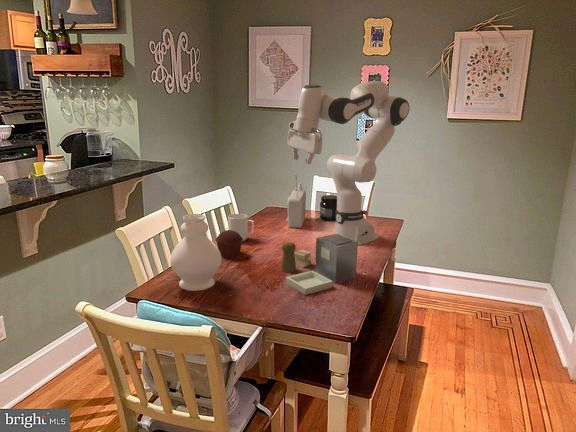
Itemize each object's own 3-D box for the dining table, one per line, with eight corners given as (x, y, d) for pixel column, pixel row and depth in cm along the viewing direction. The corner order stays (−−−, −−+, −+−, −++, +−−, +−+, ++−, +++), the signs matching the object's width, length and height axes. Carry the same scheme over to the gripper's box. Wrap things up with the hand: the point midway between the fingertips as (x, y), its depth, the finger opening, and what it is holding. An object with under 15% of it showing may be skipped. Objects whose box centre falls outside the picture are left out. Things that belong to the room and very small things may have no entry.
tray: (312, 276, 180) (312, 270, 179) (332, 287, 170) (332, 281, 169) (285, 283, 173) (285, 277, 172) (305, 295, 163) (305, 288, 163)
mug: (225, 241, 218) (224, 217, 215) (233, 235, 226) (233, 212, 223) (249, 244, 214) (249, 220, 211) (257, 238, 222) (257, 215, 219)
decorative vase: (165, 279, 175) (161, 213, 168) (211, 270, 184) (209, 207, 177) (180, 298, 160) (176, 226, 154) (229, 287, 169) (227, 219, 162)
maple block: (301, 261, 195) (301, 249, 193) (310, 264, 192) (311, 252, 190) (293, 264, 191) (293, 252, 190) (303, 267, 188) (303, 255, 187)
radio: (290, 217, 258) (290, 171, 251) (305, 217, 257) (306, 171, 250) (284, 228, 237) (284, 179, 230) (301, 229, 236) (301, 180, 229)
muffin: (246, 257, 198) (246, 234, 196) (220, 260, 194) (219, 237, 192) (238, 248, 209) (237, 226, 206) (213, 251, 205) (212, 228, 202)
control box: (335, 267, 188) (336, 232, 184) (356, 277, 179) (358, 241, 175) (314, 272, 183) (315, 237, 179) (334, 283, 173) (336, 246, 169)
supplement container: (340, 216, 259) (341, 195, 256) (337, 222, 249) (338, 199, 246) (321, 215, 262) (321, 194, 258) (317, 220, 252) (318, 198, 248)
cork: (280, 267, 188) (280, 240, 185) (295, 266, 188) (295, 240, 186) (281, 273, 182) (281, 245, 179) (297, 272, 183) (297, 245, 180)
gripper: (328, 131, 182) (322, 166, 185) (299, 124, 198) (294, 157, 202) (315, 129, 178) (309, 166, 182) (286, 123, 195) (282, 156, 198)
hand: (301, 161), depth 192 cm, fingers open, 8 cm apart
